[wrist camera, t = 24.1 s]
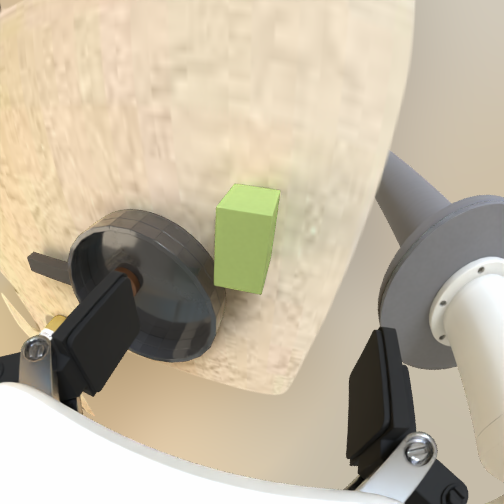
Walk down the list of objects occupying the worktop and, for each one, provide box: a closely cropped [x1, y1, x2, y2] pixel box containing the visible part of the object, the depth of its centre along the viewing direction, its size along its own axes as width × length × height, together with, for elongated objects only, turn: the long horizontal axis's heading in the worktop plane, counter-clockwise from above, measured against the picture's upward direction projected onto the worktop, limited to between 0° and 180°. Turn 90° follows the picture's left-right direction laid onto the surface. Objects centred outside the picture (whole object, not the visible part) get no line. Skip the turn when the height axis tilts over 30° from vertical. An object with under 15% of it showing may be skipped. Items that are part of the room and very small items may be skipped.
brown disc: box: [115, 267, 140, 296], centre depth 33 cm, size 4×4×1 cm
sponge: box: [214, 184, 280, 295], centre depth 24 cm, size 4×7×6 cm, turn 174°
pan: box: [68, 209, 226, 362], centre depth 31 cm, size 19×19×4 cm
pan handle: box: [27, 252, 72, 286], centre depth 33 cm, size 10×2×2 cm, turn 84°
